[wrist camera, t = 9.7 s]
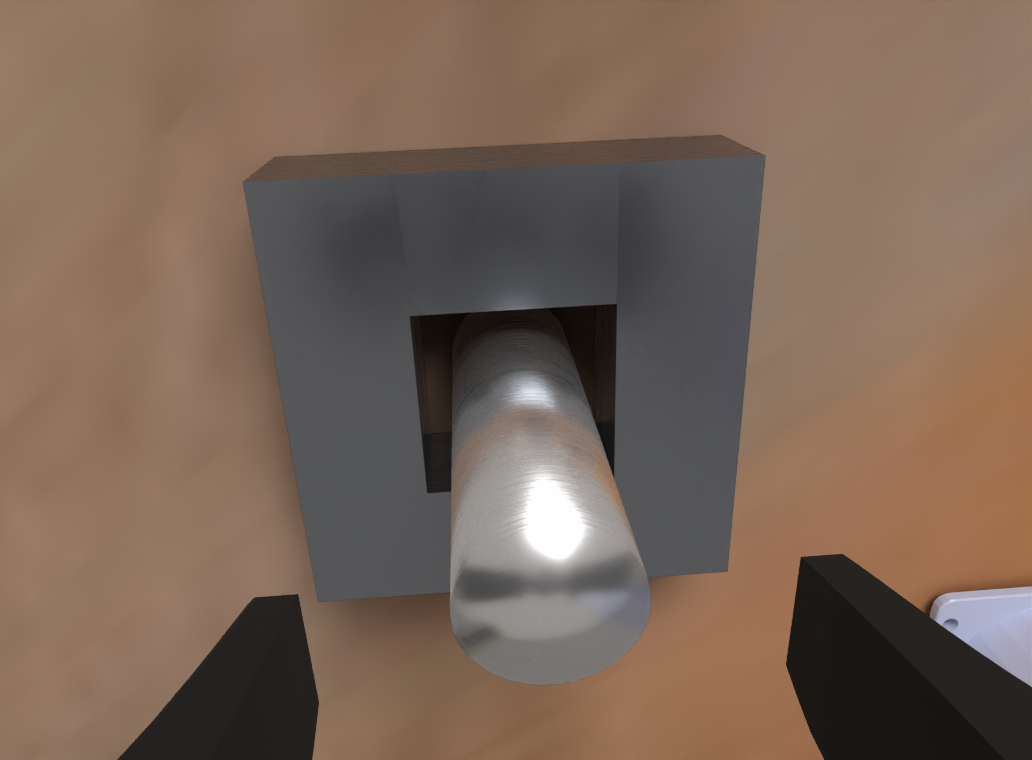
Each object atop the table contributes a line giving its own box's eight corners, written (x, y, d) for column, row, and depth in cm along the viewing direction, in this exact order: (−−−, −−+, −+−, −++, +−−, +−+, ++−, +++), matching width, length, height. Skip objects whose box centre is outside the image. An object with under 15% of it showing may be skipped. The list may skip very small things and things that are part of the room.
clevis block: (695, 506, 23) (727, 571, 21) (335, 532, 23) (318, 601, 20) (721, 134, 19) (765, 155, 16) (274, 157, 18) (242, 181, 16)
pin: (567, 398, 22) (648, 677, 13) (456, 405, 21) (457, 692, 12) (566, 292, 20) (654, 517, 11) (448, 299, 20) (442, 533, 11)
